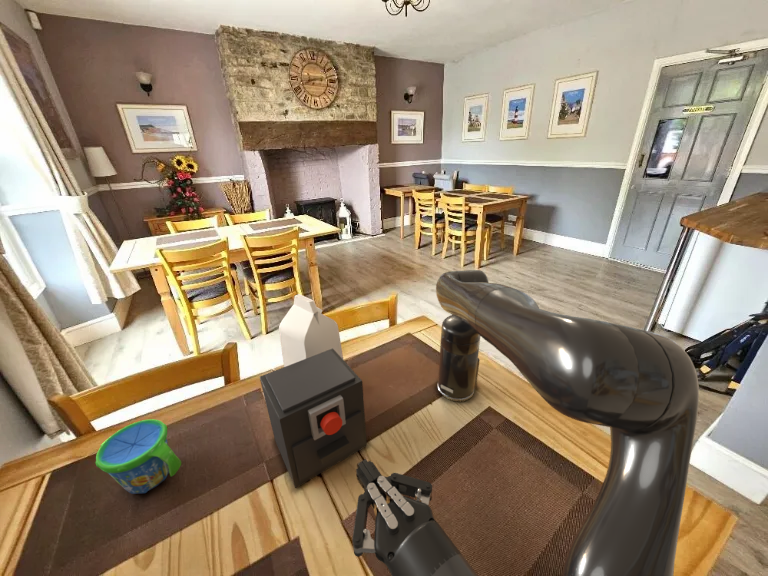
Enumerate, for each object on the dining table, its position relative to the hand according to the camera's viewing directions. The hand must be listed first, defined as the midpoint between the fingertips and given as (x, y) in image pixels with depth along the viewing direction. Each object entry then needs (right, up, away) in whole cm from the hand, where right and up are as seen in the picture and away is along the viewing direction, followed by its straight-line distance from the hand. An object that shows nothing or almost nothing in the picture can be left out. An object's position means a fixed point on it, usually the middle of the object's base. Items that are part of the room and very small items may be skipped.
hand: (361, 465), depth 47 cm
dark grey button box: (-10, -8, +20) cm, 24 cm away
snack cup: (-43, -11, +15) cm, 47 cm away
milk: (-15, +1, +39) cm, 42 cm away
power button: (-6, +1, +9) cm, 11 cm away
